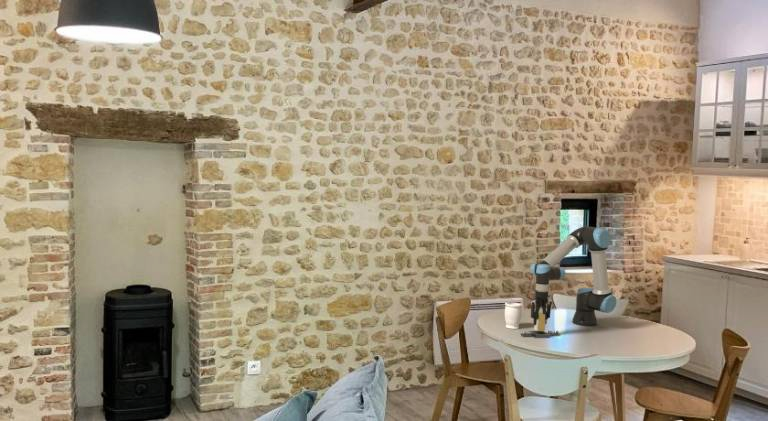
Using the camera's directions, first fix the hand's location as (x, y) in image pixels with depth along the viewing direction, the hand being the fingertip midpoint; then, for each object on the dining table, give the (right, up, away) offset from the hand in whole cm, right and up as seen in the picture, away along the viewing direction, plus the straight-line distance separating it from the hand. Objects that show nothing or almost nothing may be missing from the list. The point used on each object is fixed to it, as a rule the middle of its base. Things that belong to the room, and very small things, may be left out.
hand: (539, 329), depth 396 cm
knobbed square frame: (0, -4, 0) cm, 4 cm away
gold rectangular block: (0, 0, 0) cm, 0 cm away
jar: (-13, -2, +18) cm, 22 cm away
